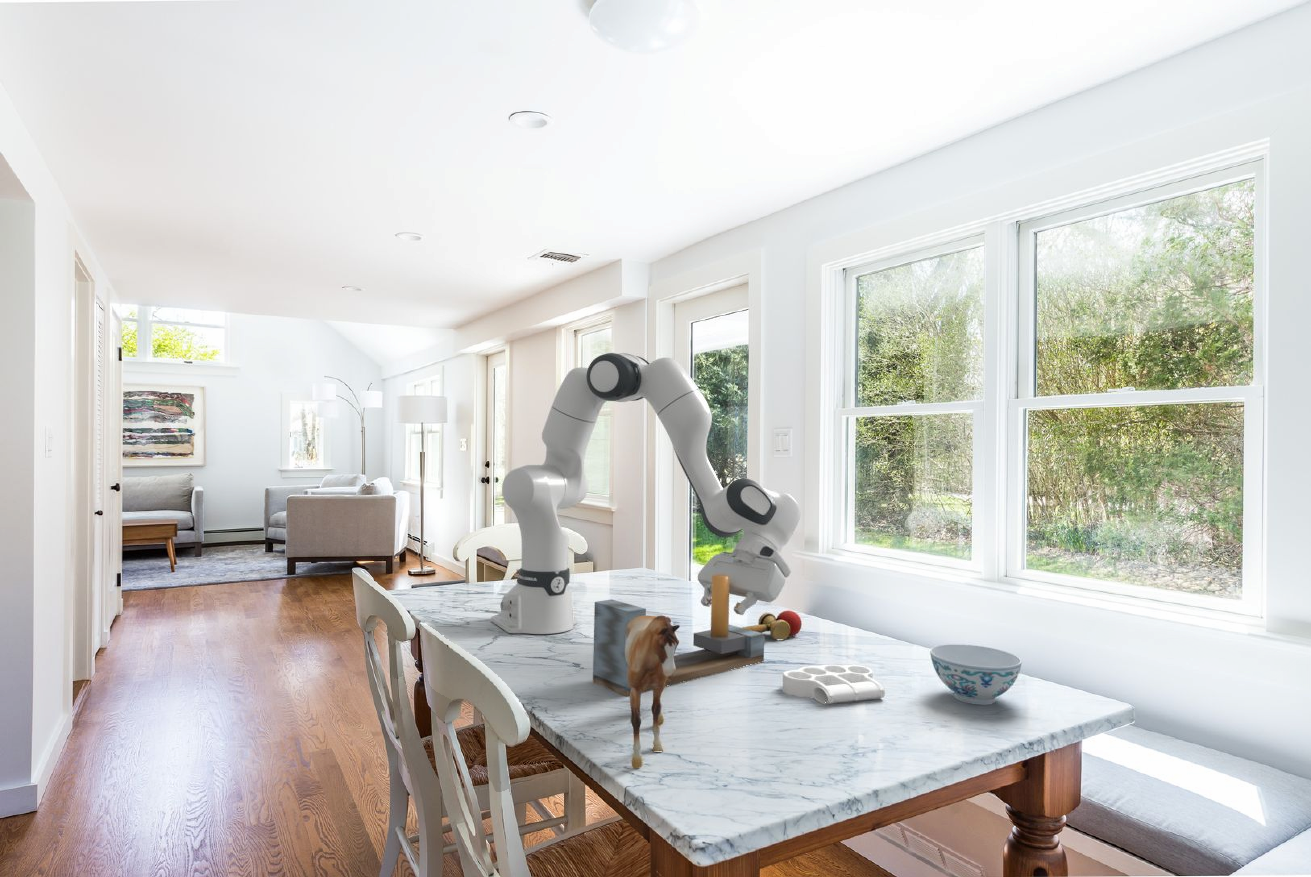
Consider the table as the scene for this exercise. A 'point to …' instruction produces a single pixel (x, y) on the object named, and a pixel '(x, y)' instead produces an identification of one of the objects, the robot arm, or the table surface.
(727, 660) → the walnut rail
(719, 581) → the carriage
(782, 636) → the kendama
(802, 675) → the white brass knuckles
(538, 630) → the robot arm
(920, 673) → the table surface
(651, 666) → the horse figurine
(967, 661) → the chinaware
